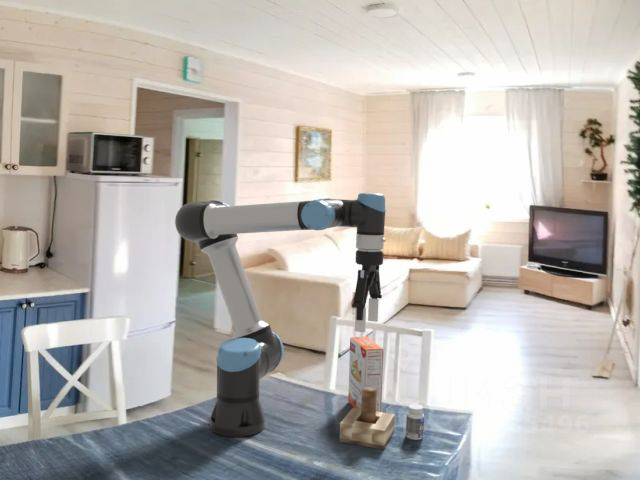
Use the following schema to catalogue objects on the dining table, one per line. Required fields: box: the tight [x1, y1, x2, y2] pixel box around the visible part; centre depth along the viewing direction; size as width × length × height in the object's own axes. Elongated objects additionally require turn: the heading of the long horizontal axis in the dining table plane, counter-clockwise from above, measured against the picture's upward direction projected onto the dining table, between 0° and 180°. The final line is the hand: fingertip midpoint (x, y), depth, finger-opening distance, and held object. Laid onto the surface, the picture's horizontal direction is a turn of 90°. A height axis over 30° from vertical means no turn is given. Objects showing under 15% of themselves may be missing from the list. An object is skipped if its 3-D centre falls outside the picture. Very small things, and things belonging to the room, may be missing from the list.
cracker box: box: [347, 336, 384, 412], centre depth 178 cm, size 14×6×21 cm, turn 16°
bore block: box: [338, 407, 396, 450], centre depth 160 cm, size 12×12×5 cm
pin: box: [361, 387, 377, 424], centre depth 160 cm, size 4×4×12 cm
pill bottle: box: [405, 403, 425, 441], centre depth 161 cm, size 5×5×8 cm
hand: (366, 326), depth 164 cm, fingers open, 13 cm apart
